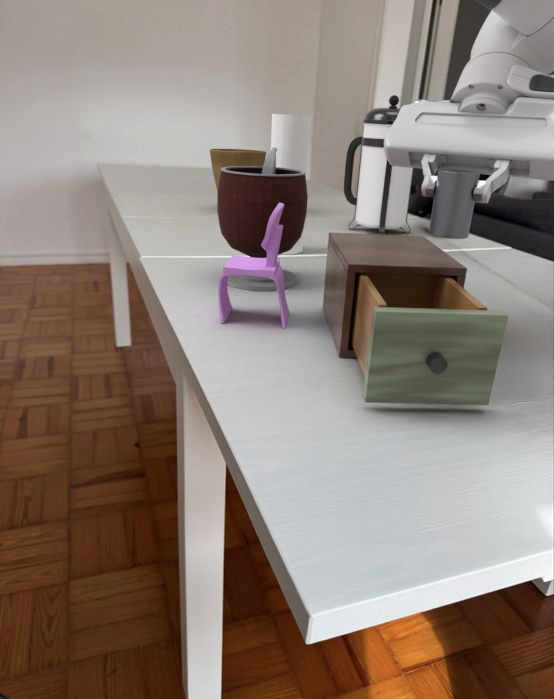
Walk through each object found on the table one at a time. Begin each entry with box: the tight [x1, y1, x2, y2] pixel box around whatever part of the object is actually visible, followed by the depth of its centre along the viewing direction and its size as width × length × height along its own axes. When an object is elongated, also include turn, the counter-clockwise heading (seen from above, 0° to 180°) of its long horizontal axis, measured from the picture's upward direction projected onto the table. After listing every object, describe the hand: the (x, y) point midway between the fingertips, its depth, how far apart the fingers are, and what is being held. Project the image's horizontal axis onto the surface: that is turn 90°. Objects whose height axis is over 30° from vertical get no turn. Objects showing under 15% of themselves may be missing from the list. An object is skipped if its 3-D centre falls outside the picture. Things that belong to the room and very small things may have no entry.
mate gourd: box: [216, 147, 309, 292], centre depth 86 cm, size 16×14×20 cm
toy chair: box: [217, 203, 290, 329], centre depth 70 cm, size 8×9×15 cm
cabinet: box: [322, 232, 468, 359], centre depth 68 cm, size 17×13×11 cm
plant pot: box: [209, 148, 267, 192], centre depth 147 cm, size 15×15×16 cm
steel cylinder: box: [428, 169, 481, 240], centre depth 61 cm, size 4×4×7 cm
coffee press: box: [343, 94, 415, 235], centre depth 128 cm, size 17×16×30 cm
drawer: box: [349, 272, 509, 406], centre depth 56 cm, size 17×12×9 cm
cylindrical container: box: [270, 113, 312, 256], centre depth 105 cm, size 7×7×25 cm
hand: (453, 196), depth 61 cm, fingers closed on steel cylinder, 4 cm apart
